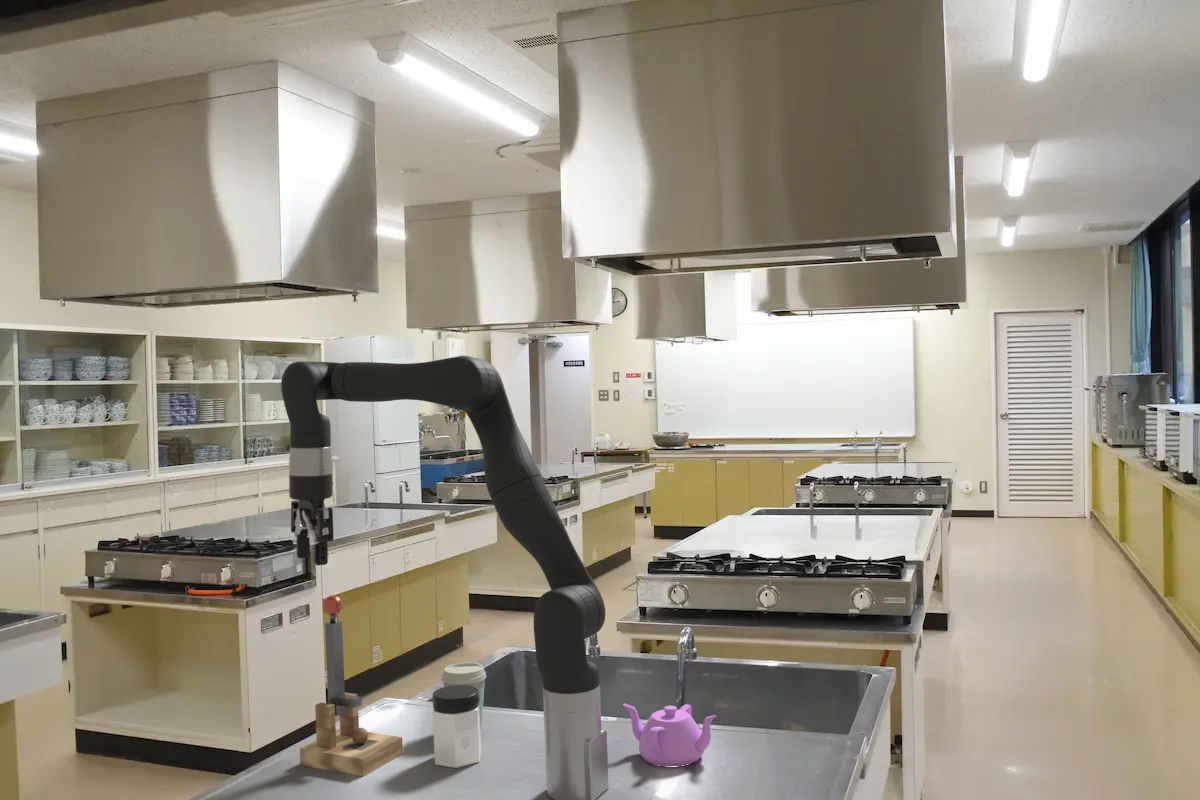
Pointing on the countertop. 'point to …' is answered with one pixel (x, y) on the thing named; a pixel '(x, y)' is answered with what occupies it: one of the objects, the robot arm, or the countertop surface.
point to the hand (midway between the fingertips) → (311, 561)
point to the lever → (336, 658)
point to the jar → (456, 726)
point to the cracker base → (347, 744)
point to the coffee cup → (466, 678)
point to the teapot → (671, 736)
